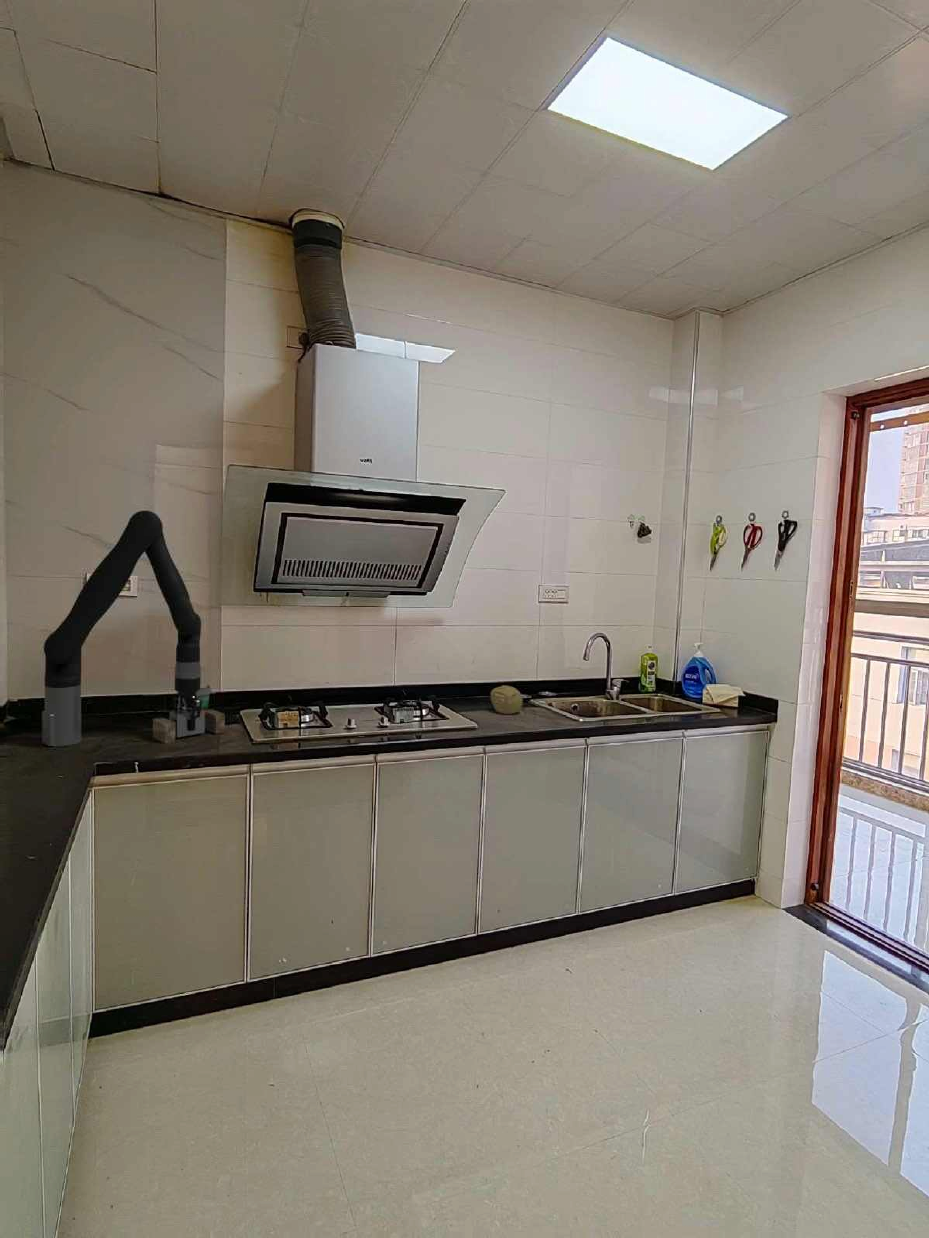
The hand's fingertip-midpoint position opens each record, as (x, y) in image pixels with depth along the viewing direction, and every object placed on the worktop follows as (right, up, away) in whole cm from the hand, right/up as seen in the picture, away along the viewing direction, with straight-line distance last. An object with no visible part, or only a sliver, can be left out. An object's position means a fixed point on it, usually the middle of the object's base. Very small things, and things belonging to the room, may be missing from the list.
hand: (187, 728), depth 219 cm
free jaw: (+6, -2, +7) cm, 9 cm away
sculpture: (+104, -3, +56) cm, 118 cm away
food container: (-7, 0, +26) cm, 27 cm away
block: (0, -1, 0) cm, 1 cm away
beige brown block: (-5, -3, -5) cm, 8 cm away
